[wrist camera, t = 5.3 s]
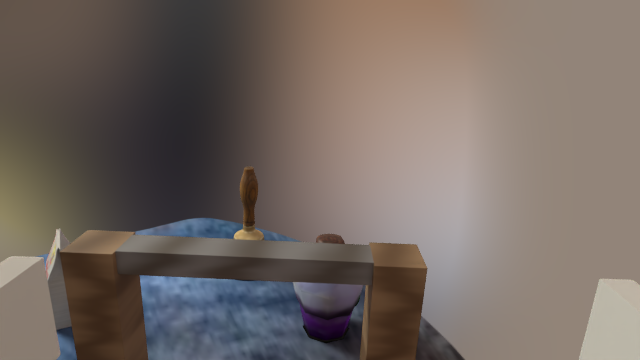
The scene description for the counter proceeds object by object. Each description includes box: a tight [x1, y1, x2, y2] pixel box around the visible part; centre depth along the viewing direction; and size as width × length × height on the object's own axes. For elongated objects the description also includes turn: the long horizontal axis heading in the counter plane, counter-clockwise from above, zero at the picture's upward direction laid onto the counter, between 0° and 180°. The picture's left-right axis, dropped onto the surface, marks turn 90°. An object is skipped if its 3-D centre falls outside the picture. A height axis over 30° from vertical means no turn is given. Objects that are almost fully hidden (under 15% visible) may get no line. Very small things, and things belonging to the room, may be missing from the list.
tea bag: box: [46, 229, 72, 330], centre depth 51 cm, size 4×7×10 cm, turn 31°
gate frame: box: [60, 230, 427, 360], centre depth 36 cm, size 28×4×17 cm, turn 89°
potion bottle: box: [293, 234, 363, 343], centre depth 49 cm, size 9×9×12 cm
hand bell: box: [234, 167, 264, 240], centre depth 62 cm, size 8×8×16 cm
